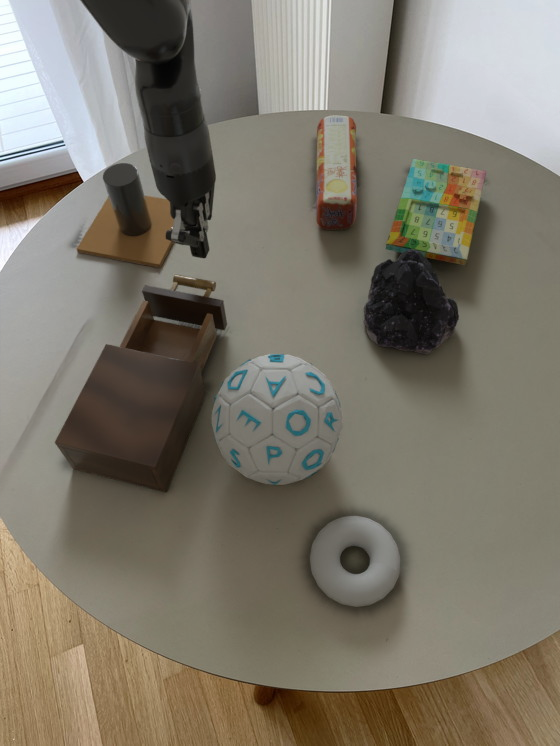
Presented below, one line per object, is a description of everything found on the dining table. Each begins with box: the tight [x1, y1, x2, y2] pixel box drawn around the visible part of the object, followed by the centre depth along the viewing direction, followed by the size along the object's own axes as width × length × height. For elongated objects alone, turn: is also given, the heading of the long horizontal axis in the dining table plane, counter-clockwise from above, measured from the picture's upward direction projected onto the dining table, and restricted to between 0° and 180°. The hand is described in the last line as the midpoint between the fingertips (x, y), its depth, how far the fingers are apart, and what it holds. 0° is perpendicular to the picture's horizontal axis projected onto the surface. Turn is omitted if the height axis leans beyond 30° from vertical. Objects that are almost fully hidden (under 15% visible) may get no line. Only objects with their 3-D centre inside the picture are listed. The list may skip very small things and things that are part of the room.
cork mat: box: [76, 195, 174, 269], centre depth 104 cm, size 14×14×1 cm
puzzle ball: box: [211, 353, 343, 486], centre depth 75 cm, size 15×15×15 cm
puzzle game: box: [385, 158, 487, 266], centre depth 100 cm, size 12×5×20 cm
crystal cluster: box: [363, 249, 460, 355], centre depth 88 cm, size 13×14×10 cm
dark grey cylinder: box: [102, 162, 152, 236], centre depth 100 cm, size 5×5×10 cm
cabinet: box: [54, 343, 207, 493], centre depth 81 cm, size 15×13×7 cm
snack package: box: [315, 114, 358, 231], centre depth 105 cm, size 21×7×7 cm, turn 177°
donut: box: [309, 515, 402, 608], centre depth 72 cm, size 10×4×10 cm
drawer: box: [119, 273, 228, 374], centre depth 88 cm, size 18×11×5 cm, turn 164°
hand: (200, 254), depth 92 cm, fingers closed
